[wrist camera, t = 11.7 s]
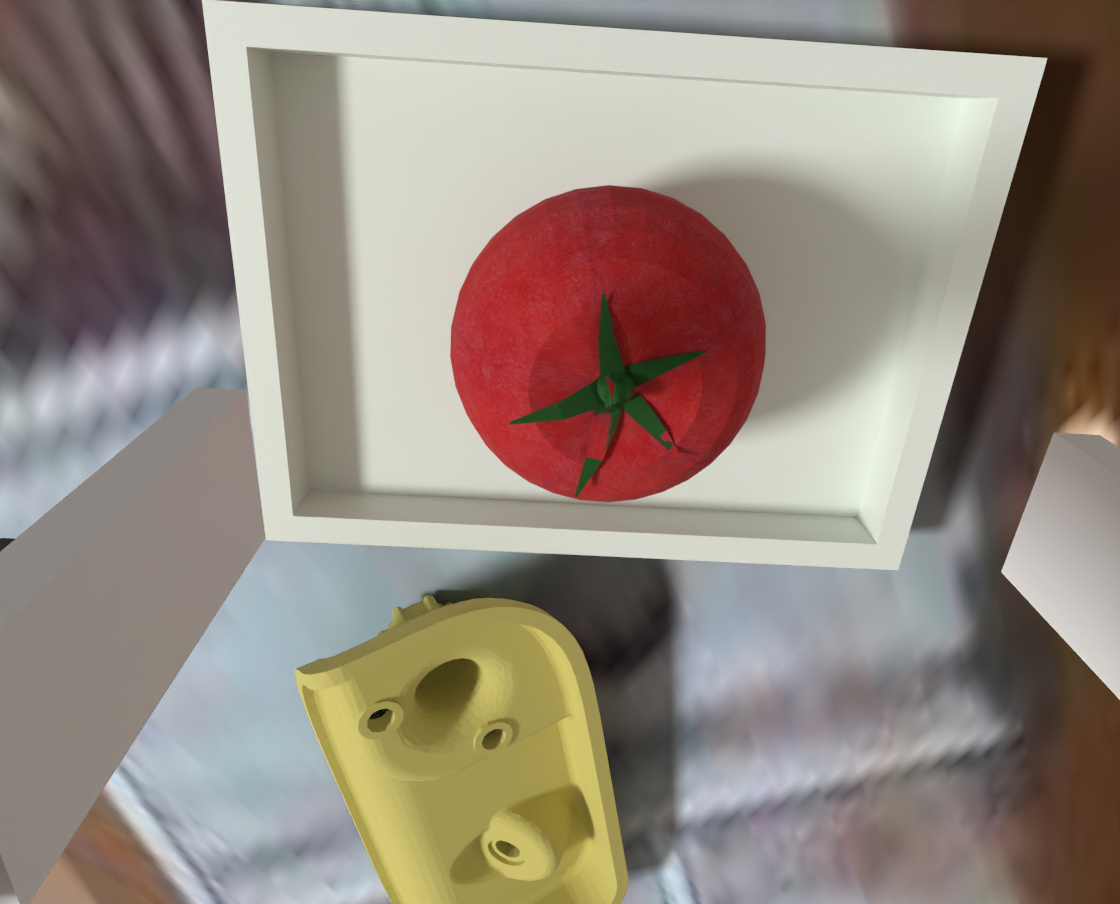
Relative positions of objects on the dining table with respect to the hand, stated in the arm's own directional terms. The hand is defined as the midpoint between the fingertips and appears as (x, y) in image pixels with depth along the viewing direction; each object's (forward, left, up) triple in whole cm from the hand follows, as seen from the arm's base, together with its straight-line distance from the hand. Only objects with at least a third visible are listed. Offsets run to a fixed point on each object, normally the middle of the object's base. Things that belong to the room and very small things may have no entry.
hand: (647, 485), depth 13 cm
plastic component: (+19, -4, -14) cm, 24 cm away
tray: (0, 0, -14) cm, 14 cm away
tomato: (0, 0, -13) cm, 13 cm away
